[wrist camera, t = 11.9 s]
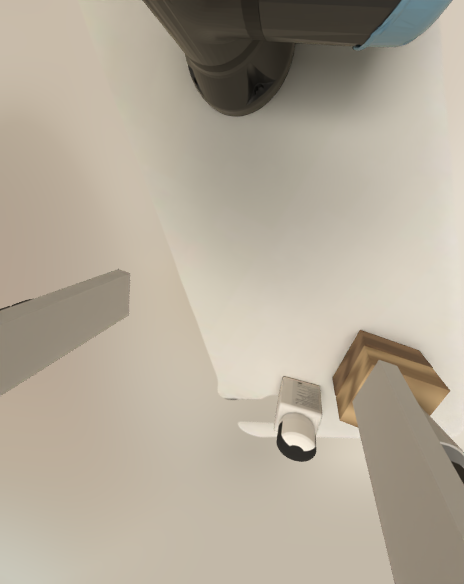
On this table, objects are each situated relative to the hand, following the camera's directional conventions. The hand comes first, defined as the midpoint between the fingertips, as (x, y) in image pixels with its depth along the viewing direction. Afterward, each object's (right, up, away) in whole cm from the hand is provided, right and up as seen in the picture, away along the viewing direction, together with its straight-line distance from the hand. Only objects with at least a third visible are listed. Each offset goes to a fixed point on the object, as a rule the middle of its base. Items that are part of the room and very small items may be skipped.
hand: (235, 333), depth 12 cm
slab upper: (+25, -13, +27) cm, 39 cm away
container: (+14, -20, +38) cm, 45 cm away
